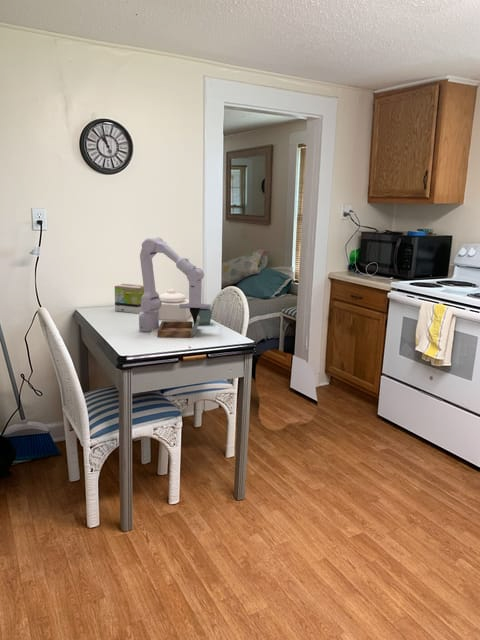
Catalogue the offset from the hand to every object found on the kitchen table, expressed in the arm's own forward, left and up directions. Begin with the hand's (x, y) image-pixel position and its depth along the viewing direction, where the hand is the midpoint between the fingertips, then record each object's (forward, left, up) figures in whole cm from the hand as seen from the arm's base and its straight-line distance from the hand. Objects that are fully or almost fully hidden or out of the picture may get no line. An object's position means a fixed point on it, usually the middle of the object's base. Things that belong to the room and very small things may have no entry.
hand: (194, 323), depth 235 cm
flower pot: (+3, +19, -6) cm, 20 cm away
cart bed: (-8, 0, -6) cm, 10 cm away
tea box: (-38, +55, -6) cm, 67 cm away
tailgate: (0, 0, -4) cm, 4 cm away
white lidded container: (-13, +41, -6) cm, 43 cm away
